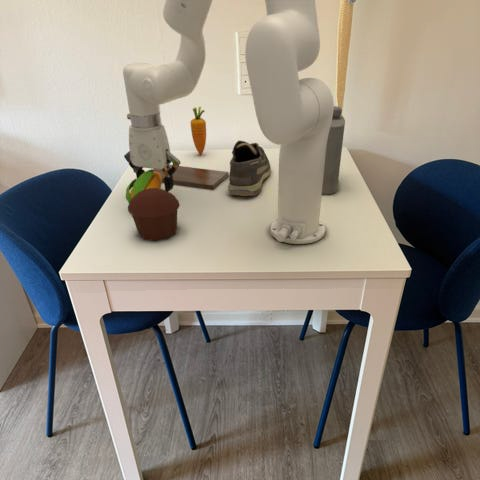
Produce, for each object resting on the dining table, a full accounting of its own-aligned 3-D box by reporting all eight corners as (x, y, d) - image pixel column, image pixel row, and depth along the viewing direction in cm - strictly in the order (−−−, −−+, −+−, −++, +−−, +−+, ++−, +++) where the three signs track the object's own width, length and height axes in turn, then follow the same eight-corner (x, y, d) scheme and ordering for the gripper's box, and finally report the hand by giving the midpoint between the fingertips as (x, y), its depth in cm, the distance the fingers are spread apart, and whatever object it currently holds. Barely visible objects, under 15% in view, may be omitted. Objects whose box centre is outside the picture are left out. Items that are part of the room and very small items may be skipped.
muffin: (185, 220, 108) (180, 181, 102) (180, 242, 100) (175, 200, 94) (137, 222, 109) (129, 182, 102) (128, 244, 100) (119, 202, 94)
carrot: (202, 151, 150) (198, 103, 140) (211, 154, 146) (207, 106, 137) (190, 154, 147) (185, 106, 138) (199, 158, 144) (194, 109, 135)
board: (212, 189, 123) (212, 185, 123) (143, 179, 131) (142, 175, 130) (228, 175, 131) (228, 171, 131) (161, 167, 138) (161, 163, 138)
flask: (339, 194, 118) (349, 115, 106) (318, 194, 118) (325, 115, 106) (334, 174, 130) (342, 100, 117) (314, 174, 130) (320, 100, 118)
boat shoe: (272, 162, 139) (272, 126, 133) (267, 200, 117) (267, 159, 110) (237, 162, 140) (236, 126, 134) (226, 199, 118) (224, 159, 111)
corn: (117, 186, 106) (142, 158, 122) (121, 215, 111) (145, 185, 127) (147, 189, 106) (168, 161, 121) (150, 218, 111) (170, 187, 126)
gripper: (108, 121, 110) (121, 188, 121) (169, 127, 105) (177, 197, 116) (125, 113, 116) (136, 179, 127) (183, 119, 110) (190, 186, 121)
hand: (155, 187), depth 121 cm, fingers open, 7 cm apart
